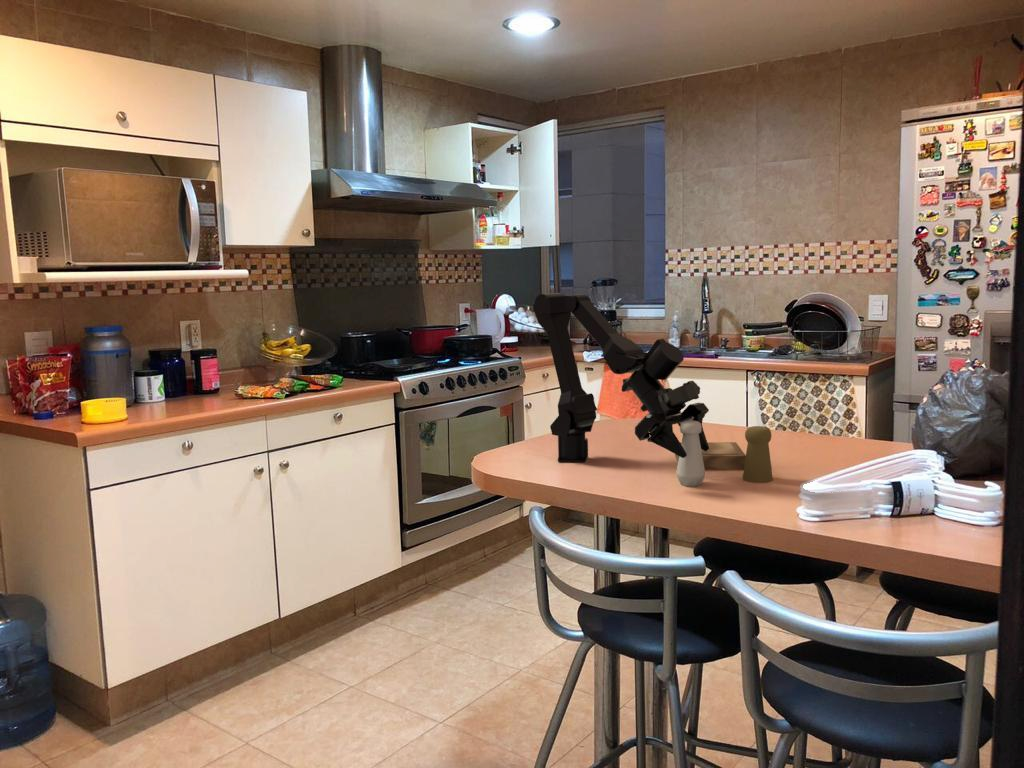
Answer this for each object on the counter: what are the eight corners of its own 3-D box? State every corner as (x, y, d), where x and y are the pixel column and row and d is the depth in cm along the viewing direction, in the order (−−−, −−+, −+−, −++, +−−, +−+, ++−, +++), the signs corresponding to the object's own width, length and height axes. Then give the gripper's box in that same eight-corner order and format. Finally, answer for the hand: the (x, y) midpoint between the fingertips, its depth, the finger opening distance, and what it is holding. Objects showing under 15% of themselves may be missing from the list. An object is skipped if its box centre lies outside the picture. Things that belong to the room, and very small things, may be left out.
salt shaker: (705, 488, 162) (705, 424, 161) (676, 487, 163) (676, 424, 162) (704, 480, 168) (704, 418, 166) (676, 480, 169) (676, 418, 167)
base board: (680, 469, 178) (680, 455, 177) (674, 455, 191) (674, 441, 191) (746, 469, 176) (746, 455, 176) (735, 454, 190) (735, 441, 189)
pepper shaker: (768, 484, 164) (769, 430, 162) (738, 480, 167) (739, 428, 166) (776, 477, 169) (777, 425, 167) (747, 474, 172) (747, 423, 171)
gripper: (645, 374, 159) (693, 436, 153) (701, 364, 172) (747, 422, 165) (615, 409, 166) (659, 470, 159) (670, 397, 178) (713, 454, 172)
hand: (696, 453), depth 164 cm, fingers open, 7 cm apart
